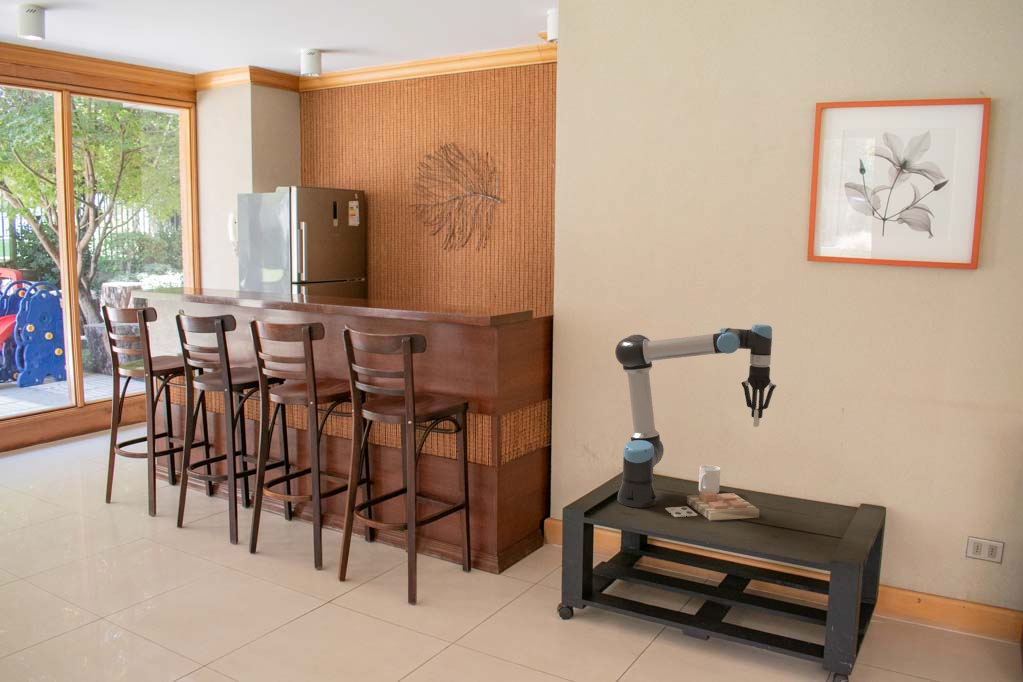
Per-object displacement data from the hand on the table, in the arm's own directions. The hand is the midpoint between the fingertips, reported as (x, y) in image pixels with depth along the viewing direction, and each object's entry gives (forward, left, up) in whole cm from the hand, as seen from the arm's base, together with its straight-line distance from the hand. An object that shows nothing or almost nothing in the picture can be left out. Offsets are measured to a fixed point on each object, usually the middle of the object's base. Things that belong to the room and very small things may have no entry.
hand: (756, 425), depth 317 cm
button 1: (-3, -17, -30) cm, 35 cm away
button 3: (-3, -9, -32) cm, 33 cm away
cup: (-20, -9, -33) cm, 39 cm away
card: (+1, -30, -32) cm, 44 cm away
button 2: (+5, -17, -32) cm, 37 cm away
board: (+1, -13, -32) cm, 35 cm away
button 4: (+5, -9, -32) cm, 34 cm away
